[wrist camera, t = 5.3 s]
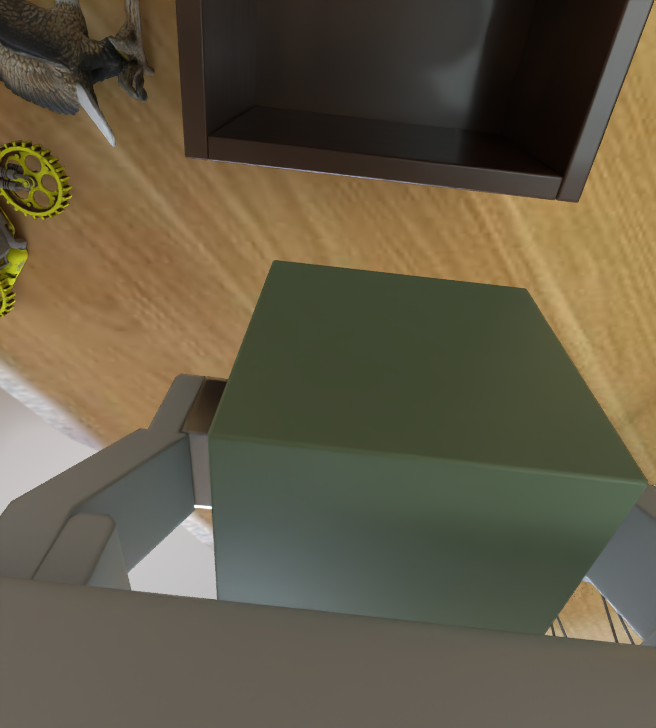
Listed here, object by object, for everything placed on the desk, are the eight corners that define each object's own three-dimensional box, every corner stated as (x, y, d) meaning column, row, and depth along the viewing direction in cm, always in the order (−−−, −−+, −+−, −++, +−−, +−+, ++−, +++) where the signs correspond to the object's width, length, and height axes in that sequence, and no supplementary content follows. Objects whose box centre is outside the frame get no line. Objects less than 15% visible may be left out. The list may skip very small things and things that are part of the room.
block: (272, 258, 10) (204, 433, 5) (527, 287, 10) (653, 483, 5) (266, 444, 12) (218, 651, 8) (462, 466, 12) (513, 683, 8)
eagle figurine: (151, -86, 20) (-108, -158, 18) (123, 33, 17) (-185, -36, 15) (163, 81, 27) (-23, 42, 25) (145, 184, 24) (-66, 150, 22)
